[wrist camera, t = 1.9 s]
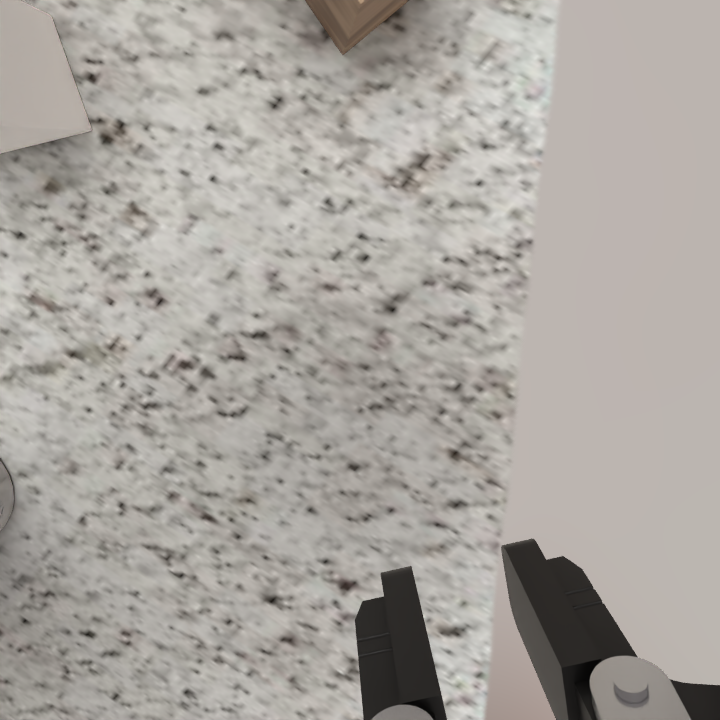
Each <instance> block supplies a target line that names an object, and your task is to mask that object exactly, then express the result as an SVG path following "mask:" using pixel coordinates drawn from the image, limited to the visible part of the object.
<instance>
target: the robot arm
mask: <svg viewBox="0 0 720 720" xmlns="http://www.w3.org/2000/svg"><path fill="white" fill-rule="evenodd" d="M13 503H14V493H13V486H12V482H11V479H10V476H9V474H8V472H7V470H6V469H5V467H4V465H3V464H2V462H1V461H0V531H1V530H2V528H3V527H4V526H5V525H6V523H7V521H8V519H9V517H10V515H11V513H12V509H13ZM501 549H502V557H503V563H504V569H505V575H506V581H507V588H508V594H509V599H510V605H511V608H512V612H513V616H514V619H515V622H516V625H517V628H518V630H519V633H520V635H521V637H522V640H523V642H524V645H525V647H526V649H527V652H528V654H529V656H530V659H531V661H532V664H533V666H534V668H535V671H536V673H537V675H538V678H539V680H540V682H541V685H542V687H543V690H544V692H545V694H546V697H547V699H548V701H549V704H550V706H551V709H552V711H553V713H554V716H555V718H556V720H720V685H703V684H690V683H682V682H678V681H673V680H670V679H669V678H668V676H667V675H666V674H665V673H664V672H663V671H662V670H661V669H660V668H659V667H657V666H656V665H654V664H653V663H651V662H649V661H647V660H644V659H641V658H638V657H637V655H636V654H635V652H634V651H633V649H632V647H631V646H630V644H629V643H628V641H627V640H626V638H625V636H624V635H623V633H622V632H621V630H620V628H619V627H618V625H617V624H616V622H615V621H614V619H613V617H612V616H611V614H610V613H609V611H608V610H607V608H606V606H605V605H604V604H603V603H602V600H601V598H600V597H599V595H598V594H597V592H596V590H594V589H593V586H592V584H591V583H590V581H589V579H588V578H587V576H586V575H585V573H584V571H583V570H582V569H581V568H580V567H578V566H577V565H575V564H574V563H573V562H571V561H570V560H568V559H567V558H565V557H564V556H562V557H557V558H553V559H548V560H546V559H545V557H544V555H543V553H542V552H541V550H540V548H539V546H538V544H537V543H536V541H535V540H534V539H529V540H524V541H520V542H515V543H511V544H507V545H502V547H501ZM381 579H382V585H383V592H384V597H380V598H375V599H371V600H366V601H363V602H362V604H361V607H360V609H359V611H358V614H357V616H356V619H355V625H356V637H357V648H358V656H359V670H360V682H361V693H362V704H363V715H364V720H447V718H446V713H445V709H444V704H443V700H442V695H441V691H440V687H439V683H438V678H437V674H436V670H435V665H434V661H433V657H432V652H431V648H430V644H429V640H428V635H427V631H426V627H425V622H424V618H423V614H422V610H421V605H420V601H419V597H418V592H417V588H416V584H415V580H414V575H413V571H412V567H411V566H409V567H405V568H400V569H396V570H391V571H387V572H382V573H381Z"/></svg>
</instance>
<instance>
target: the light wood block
mask: <svg viewBox="0 0 720 720" xmlns="http://www.w3.org/2000/svg"><path fill="white" fill-rule="evenodd" d="M305 1H306V2H307V4H308V5H309V7H310V8H311V10H312V11H313V13H314V14H315V15H316V17H317V18H318V20H319V21H320V23H321V24H322V26H323V27H324V29H325V30H326V31H327V33H328V34H329V36H330V37H331V39H332V40H333V42H334V43H335V45H336V46H337V47H338V49H339V50H340V52H341V53H342V55H344V54H345V53H346V52H347V51H348V50H350V49H351V48H352V47H353V46H355V45H356V44H357V43H358V42H359V41H361V40H362V39H363V38H364V37H365V36H367V35H368V34H369V33H370V32H371V31H373V30H374V29H375V28H376V27H377V26H379V25H380V24H381V23H382V22H383V21H385V20H386V19H387V18H388V17H390V16H391V15H392V14H393V13H394V12H396V11H397V10H398V9H399V8H400V7H402V6H403V5H404V4H405V3H406V2H408V1H409V0H305Z"/></svg>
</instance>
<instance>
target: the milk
mask: <svg viewBox="0 0 720 720" xmlns="http://www.w3.org/2000/svg"><path fill="white" fill-rule="evenodd" d="M91 130H92V128H91V125H90V123H89V120H88V117H87V114H86V111H85V109H84V106H83V103H82V100H81V97H80V95H79V92H78V89H77V86H76V83H75V80H74V78H73V75H72V72H71V69H70V66H69V64H68V61H67V58H66V55H65V52H64V49H63V47H62V44H61V41H60V38H59V35H58V33H57V30H56V27H55V24H54V21H53V18H52V16H51V15H49V14H47V13H45V12H43V11H41V10H39V9H37V8H35V7H33V6H31V5H29V4H27V3H25V2H23V1H21V0H0V154H1V153H5V152H9V151H13V150H17V149H21V148H25V147H29V146H33V145H37V144H41V143H45V142H49V141H53V140H57V139H61V138H65V137H69V136H73V135H77V134H81V133H85V132H89V131H91Z"/></svg>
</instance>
